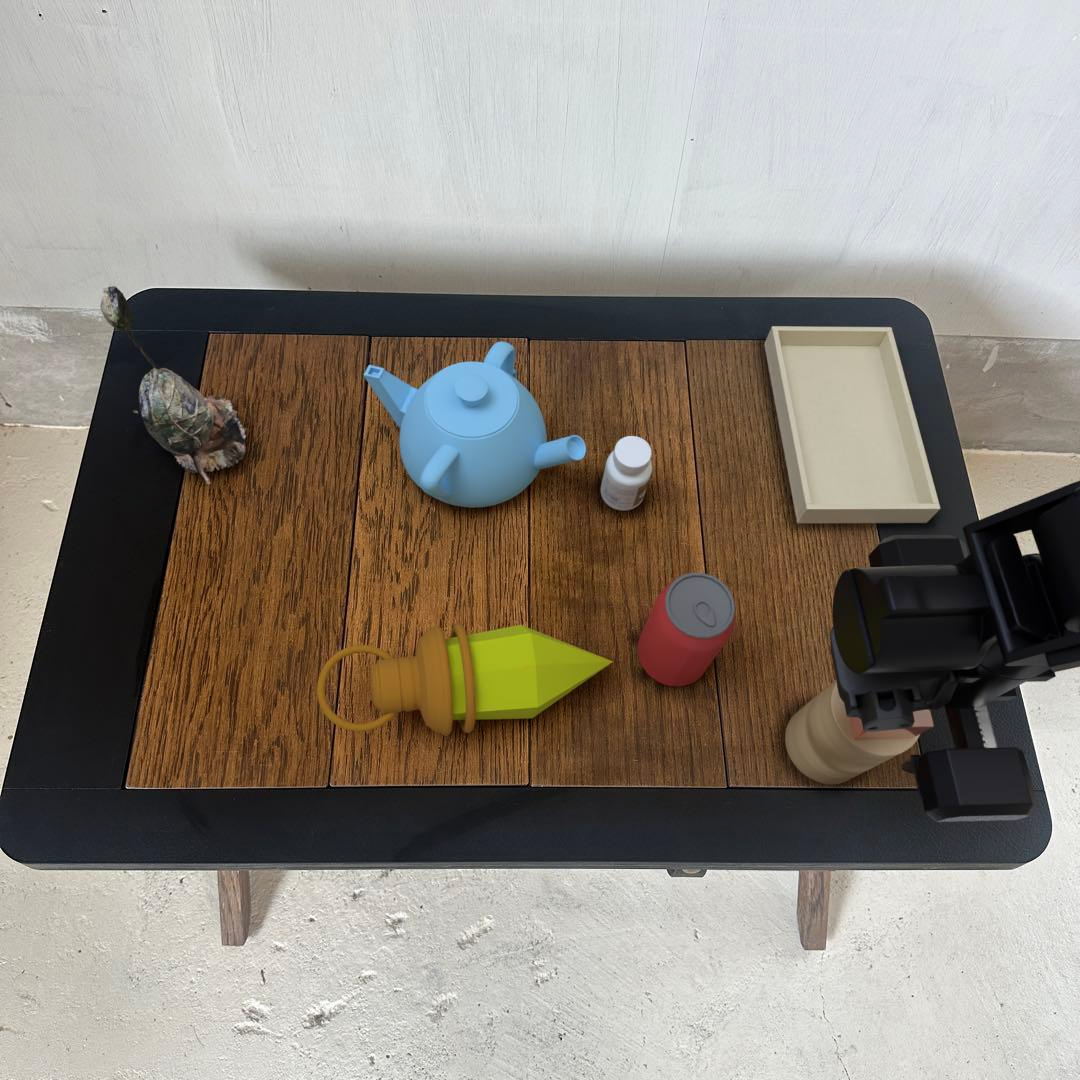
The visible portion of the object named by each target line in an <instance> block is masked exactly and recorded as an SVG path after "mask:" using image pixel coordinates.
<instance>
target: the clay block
mask: <svg viewBox="0 0 1080 1080" xmlns="http://www.w3.org/2000/svg"><path fill="white" fill-rule="evenodd" d="M931 711H932V710H920V711H915V712H913V715H914V720H915V722H914V724H913V726H912V727H909V728H905V729H896V730H885V731H875V732H869V731H865V730H863V726H862V721H861V719H860V718H858V717H850V722H851V727H852V732H853V737H854V739H897V738H914V737H916V736H917V735H919V734H920V735H921V734H923V733H925V732H927V731H929V730H931V729H932V728H934V727H935V724H934V720H933V716H932V712H931Z"/></svg>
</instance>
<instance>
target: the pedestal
mask: <svg viewBox="0 0 1080 1080" xmlns="http://www.w3.org/2000/svg"><path fill="white" fill-rule="evenodd" d="M920 736H921V734H919V735H917V736H916V737H914V738H897V739H854V737H853V732H852V727H851V722H850V717H847V715H846V710H845V705H844V702H843V701H842V700H841V698H840V696H839V693H838V687H837V681H836V679H835V680H833V681H832V682H831V683H829V685H827V686H826V687H825V688H824V689H823V690H822V691H820V692H819V693H818V694H817V695H815V696H814V697H813V698H812V699H811V700H809V701H807V703H806V704H804V705H803V706H802V707H801V708H800V709H798V710H797V711H796V712H795V713H794V714H793V715H792V716H791V718H790V719H789V721H788V723H787V726H786V728H785V735H784V738H785V739H784V740H785V741H784V743H785V748H786V751H787V754H788V757H789V759H790V760H791V762H792V764H793V765H794V766H795V767H796V769H797V770H798V771H799V772H800V773H801V774H802V775H804V776H805V777H807V778H808V779H810V780H812V781H814V782H816V783H819V784H823V785H839V784H843V783H846V782H847V781H850V780H852V779H854V778H855V777H858V776H860V775H861V774H864V773H865V772H867V771H870V770H871V769H873V768H875V767H877V766H879V765H881V764H883V763H885V762H887V761H889V760H891V759H893V758H894V757H897V756H899V755H900V754H902V753H905V752H906V751H908V750H909V749H911V748H912V747H913V746H914V745H915V744H916V742H918V739H919V738H920Z"/></svg>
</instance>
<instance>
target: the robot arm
mask: <svg viewBox="0 0 1080 1080" xmlns="http://www.w3.org/2000/svg"><path fill="white" fill-rule="evenodd" d="M961 529H962V532H963V535H964V538H965V542H966V543H965V542H964V541H962V540H961V539H960V538H959V537H957V536H954V535H952V534H894V535H891V536H888V537H885V538H883V539H882V540H881V541H880V542H879V543H878V544H877V545H876V546H875V547H874V548H873V550H872V551H871V552H870V553H869V554H868V556H867V557H868V558H867V559H868V562H869V566H870V567H854V568H850V569H845V570H843V571H842V572H841V574H840V576H839V578H838V579H837V582H836V584H835V588H834V591H833V597H832V610H831V612H832V627H831V629H830V633H829V642H830V643H829V644H830V646H829V647H830V655H831V660H832V665H833V671H834V676H835V680H836V681H837V687H838V693H839V696H840V698H841V700H842V701H843V702H844V705H845V710H846V715H847V717H858V718H860V719H861V721H862V726H863V730H865V731H869V732H875V731H885V730H896V729H905V728H909V727H912V726H913V724H914V722H915V720H914V715H913V712H915V711H920V710H930V711H932V710H934V711H935V710H940V709H941V708H943V707H944V710H945V714H946V718H947V722H948V727H949V730H950V734H951V739H952V742H953V746H954V748H943V749H937V750H931V751H926V752H923V753H922V754H910V759H907V760H904V761H903V762H902V763H901V764H900V768H901V770H902V771H903V772H906V773H909V774H912V775H914V778H915V783H916V787H917V793H918V794H919V796H920V798H921V801H922V806H923V810H924V813H925V815H927V816H928V817H929V818H930V819H932V820H933V821H934V822H935V823H947V822H948V823H951V822H952V823H953V822H982V821H983V822H989V821H990V822H991V821H994V822H995V821H1017V820H1021V819H1024V818H1028V817H1031V816H1032V815H1033V813H1034V812H1035V811H1036V810H1037V809H1038V807H1039V803H1038V799H1037V796H1036V791H1035V788H1034V785H1033V780H1032V778H1031V777H1032V776H1031V774H1030V770H1029V767H1028V764H1027V759H1026V756H1025V753H1024V750H1023V749H1021V748H1019V747H1018V746H1016V747H1015V746H1012V747H1011V746H1009V747H1005V746H1004V747H1003V746H1002V747H998V744H997V740H996V736H995V733H994V728H993V725H992V721H991V717H990V714H989V709H988V706H987V703H989V702H1000V701H1001V702H1003V701H1005V702H1007V701H1011V700H1012V699H1015V698H1017V697H1018V693H1017V690H1016V688H1017V687H1019V686H1021V685H1022V684H1024V683H1035V682H1036V683H1038V682H1039V683H1041V682H1043V683H1044V682H1049V681H1050V680H1052V679H1054V678H1056V677H1057V676H1056V675H1057V674H1056V673H1058V672H1062V671H1067V670H1071V669H1076V668H1080V480H1077V481H1074V482H1072V483H1069V484H1066V485H1064V486H1061V487H1059V488H1057V489H1054V490H1051V491H1049V492H1046V493H1044V494H1041V495H1039V496H1036V497H1034V498H1031V499H1028V500H1026V501H1023V502H1021V503H1018V504H1016V505H1014V506H1011V507H1009V508H1006V509H1003V510H1001V511H999V512H996V513H993V514H990V515H987V516H986V517H983V518H981V519H979V520H976V521H974V522H971V523H968V524H966V525H964V526H962V528H961ZM1028 531H1031V535H1032V537H1033V540H1034V542H1035V546H1036V548H1037V551H1038V552H1037V553H1034V552H1033V553H1027V554H1024V555H1023V554H1022V551H1021V548H1020V544H1019V542H1018V539H1017V536H1016V535H1017V534H1021V533H1024V532H1028Z"/></svg>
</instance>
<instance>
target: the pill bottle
mask: <svg viewBox="0 0 1080 1080" xmlns="http://www.w3.org/2000/svg"><path fill="white" fill-rule="evenodd" d="M651 458H652V448H651V446H650V444H649V443H648V441H646V440H645V439H643V438H642V437H639V436H636V435H628V436H627V435H626V436H623V437H622V438H620V439H619V440H617V442H616V444H615V446H614V449H613V450H612V452H610V453H609V455H608V457H607V459H606V462H605V466H604V471H603V476H602V479H601V484H600V496H601V497H602V501H604V503H605V504H606V505H607V506H609V507H610V508H612V509H613V510H616V511H621V512H623V511H624V512H625V511H631V510H633V509H636V508H637V507H638V506H640V504H641V503H642V502H643V501H644V498H645V495H646V492H647V489H648V486H649V482H650V479H651V476H652V472H653V463H652V460H651Z"/></svg>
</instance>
